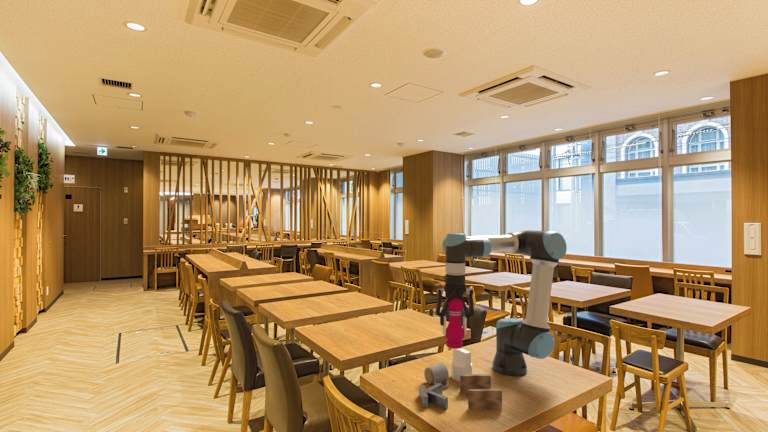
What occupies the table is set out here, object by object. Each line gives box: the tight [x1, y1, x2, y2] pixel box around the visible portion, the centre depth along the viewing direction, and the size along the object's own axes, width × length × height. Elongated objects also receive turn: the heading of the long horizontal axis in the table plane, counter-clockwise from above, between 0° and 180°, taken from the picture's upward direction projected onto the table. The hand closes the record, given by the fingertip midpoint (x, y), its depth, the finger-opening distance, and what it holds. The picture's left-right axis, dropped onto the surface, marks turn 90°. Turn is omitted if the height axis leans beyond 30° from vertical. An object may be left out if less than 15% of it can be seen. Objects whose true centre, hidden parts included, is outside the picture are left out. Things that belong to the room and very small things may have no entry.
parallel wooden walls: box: [459, 373, 503, 411], centre depth 151 cm, size 12×15×7 cm
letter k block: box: [418, 383, 449, 411], centre depth 151 cm, size 9×14×4 cm, turn 2°
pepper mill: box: [444, 298, 465, 349], centre depth 150 cm, size 7×7×20 cm
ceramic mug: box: [423, 362, 450, 390], centre depth 166 cm, size 11×8×8 cm
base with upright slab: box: [450, 347, 473, 382], centre depth 173 cm, size 9×9×12 cm
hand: (454, 333), depth 151 cm, fingers closed on pepper mill, 7 cm apart
